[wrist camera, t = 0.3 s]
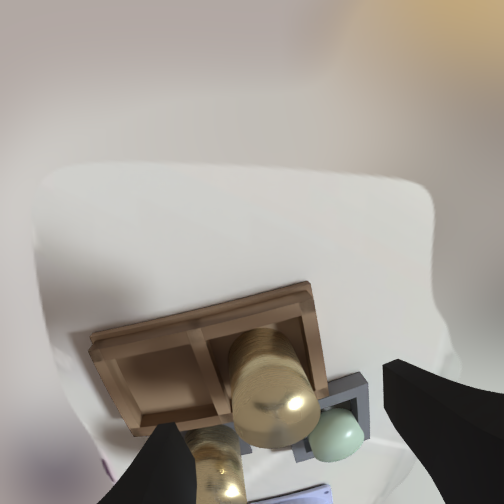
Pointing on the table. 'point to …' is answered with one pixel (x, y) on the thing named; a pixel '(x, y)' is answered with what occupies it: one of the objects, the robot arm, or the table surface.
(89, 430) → the table surface
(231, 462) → the cylinder
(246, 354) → the brass round-topped piece
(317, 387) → the brown wooden tray
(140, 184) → the table surface
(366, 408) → the button housing
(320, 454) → the button
